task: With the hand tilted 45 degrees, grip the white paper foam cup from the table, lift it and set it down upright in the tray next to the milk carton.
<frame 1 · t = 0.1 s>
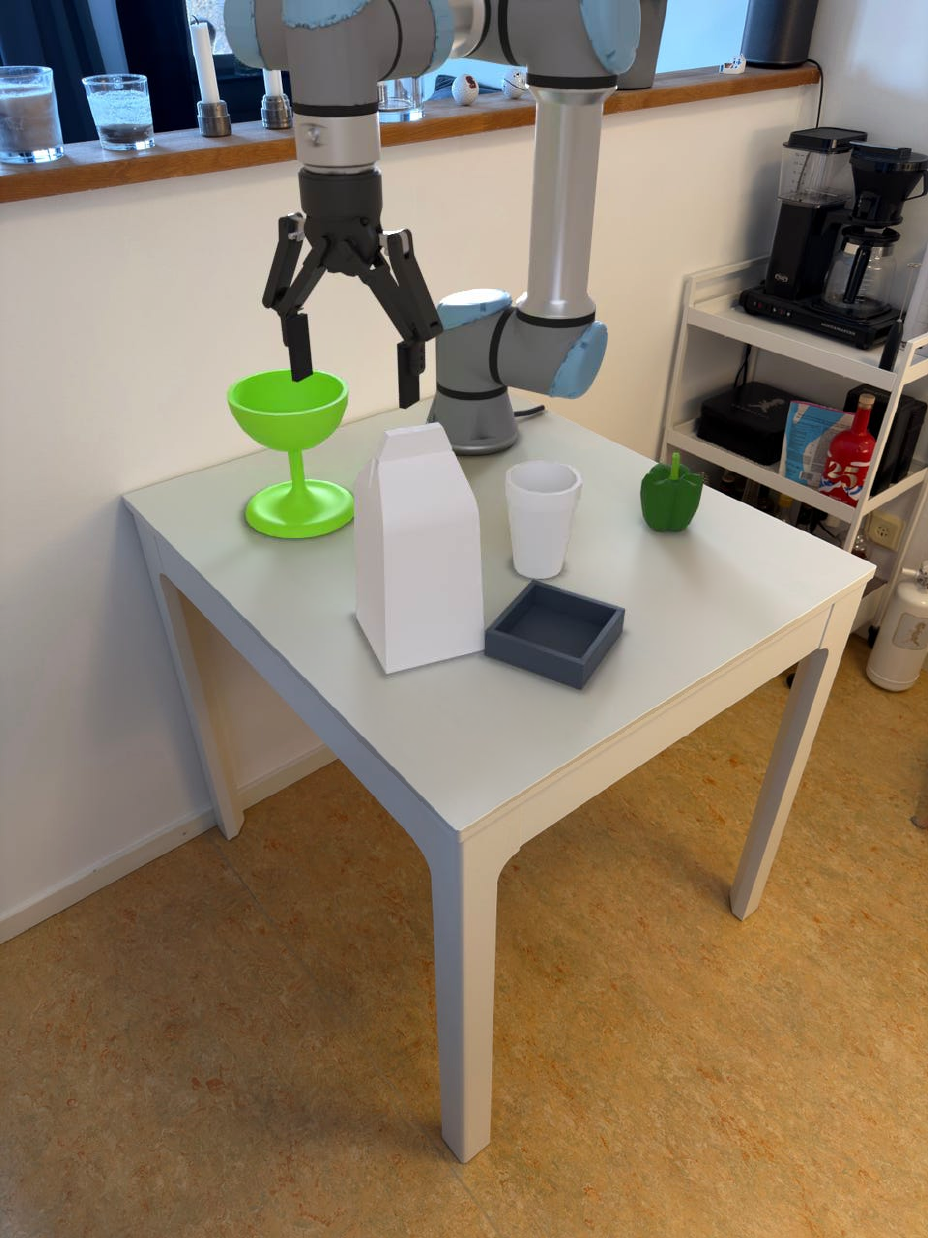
hand: (354, 390, 93), 28 cm above the table, tool pointing down, fingers open, 13 cm apart
tray: (554, 643, 105), on the table
bell pepper: (666, 525, 127), on the table
foam cup: (537, 566, 118), on the table
wineglass: (301, 510, 130), on the table
milk: (419, 634, 106), on the table
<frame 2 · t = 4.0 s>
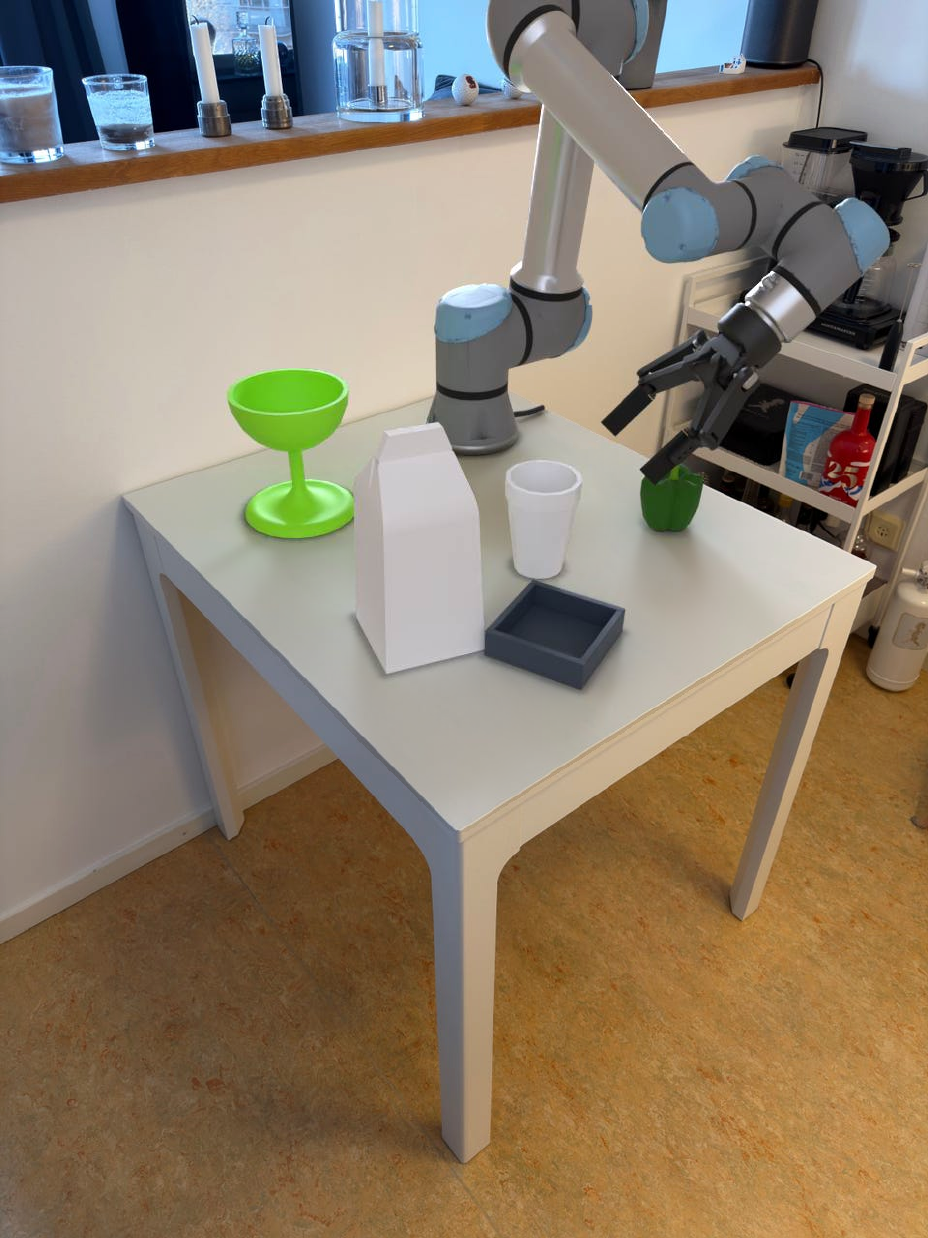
hand: (626, 452, 111), 15 cm above the table, tool tilted 45°, fingers open, 13 cm apart
nothing on the table moved.
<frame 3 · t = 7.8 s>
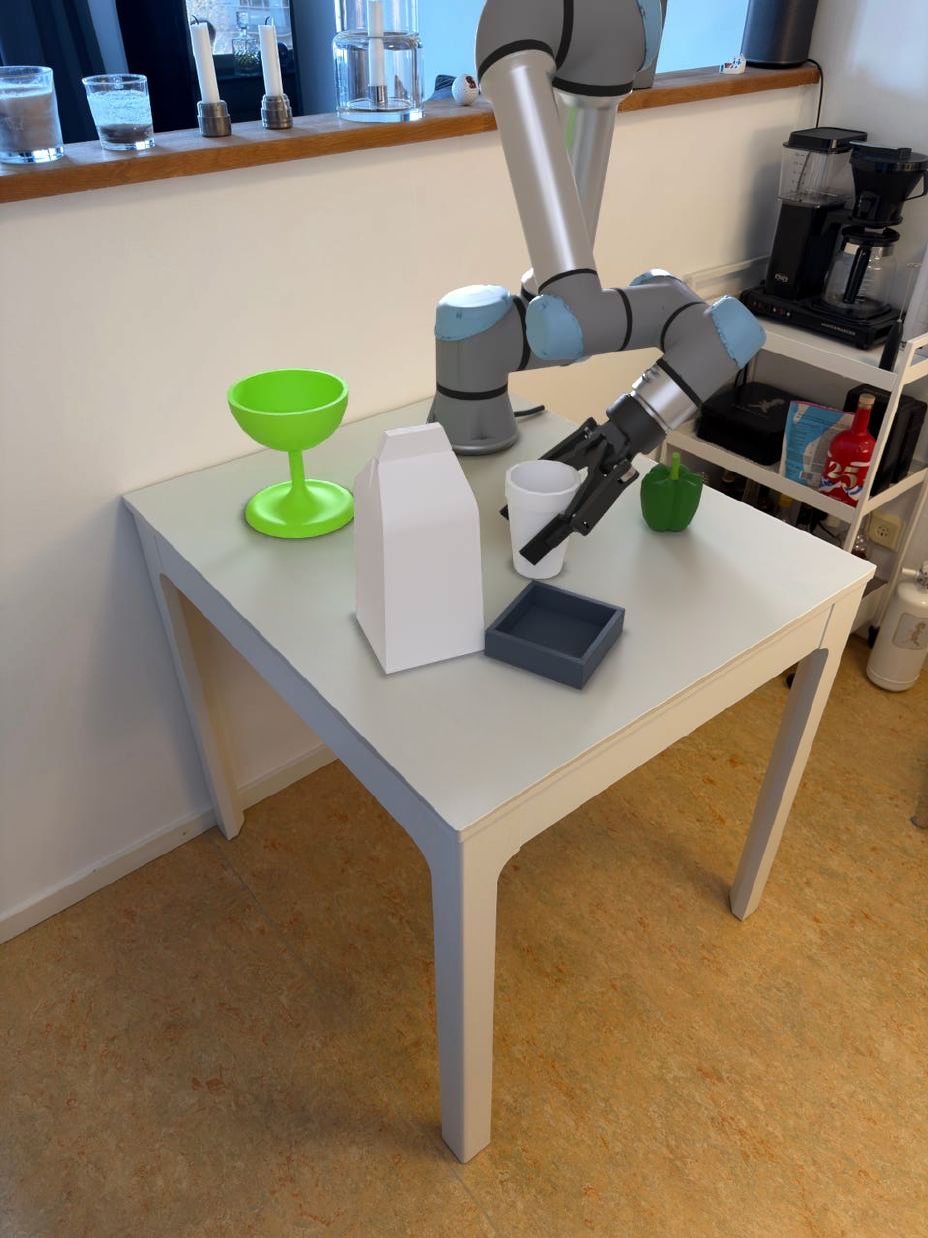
hand: (516, 537, 115), 5 cm above the table, tool tilted 45°, fingers closed on foam cup, 9 cm apart
foam cup: (537, 566, 118), on the table, touching gripper
everything else where it was.
when the fingers open (5 cm above the table, at t = 16.7 s): foam cup stays where it is, resting on tray.
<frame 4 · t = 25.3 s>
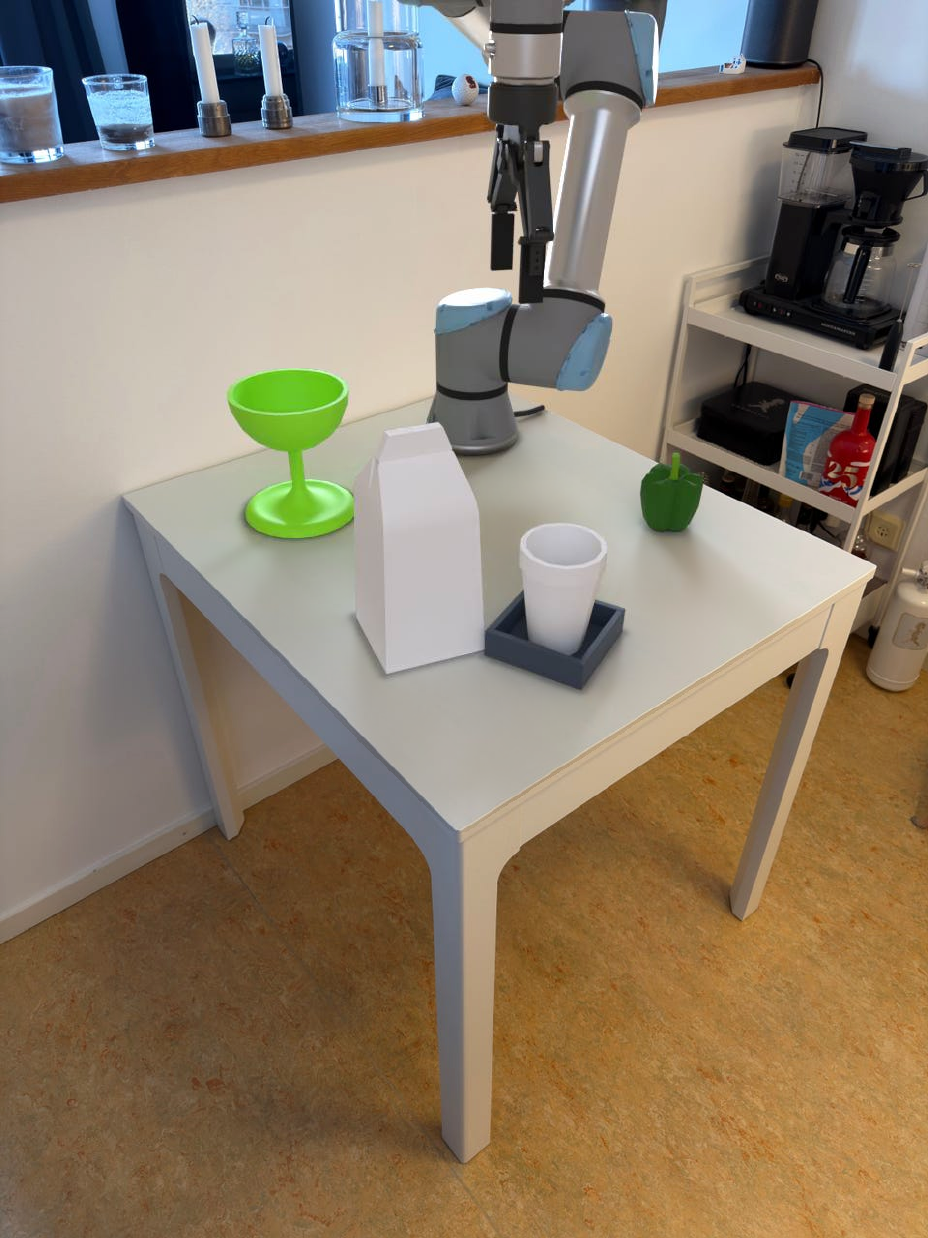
hand: (515, 285, 108), 33 cm above the table, tool pointing down, fingers open, 13 cm apart
foam cup: (555, 641, 105), resting on tray
everything else where it was.
at the end: foam cup 0.0 cm off-centre in the tray, point 0.3 cm above the tray's base; foam cup tilted 0°; the gripper is holding nothing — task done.
